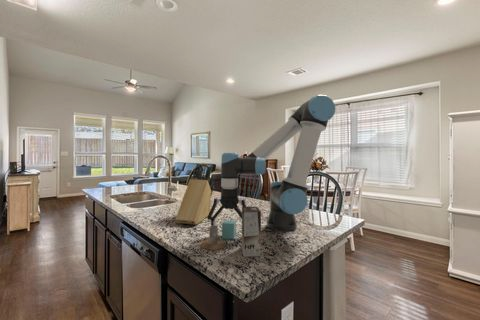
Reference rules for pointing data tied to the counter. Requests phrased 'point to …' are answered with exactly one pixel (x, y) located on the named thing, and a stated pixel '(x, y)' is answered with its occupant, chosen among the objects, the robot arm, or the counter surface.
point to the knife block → (196, 198)
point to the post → (213, 240)
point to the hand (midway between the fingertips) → (229, 236)
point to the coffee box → (251, 231)
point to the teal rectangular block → (229, 229)
